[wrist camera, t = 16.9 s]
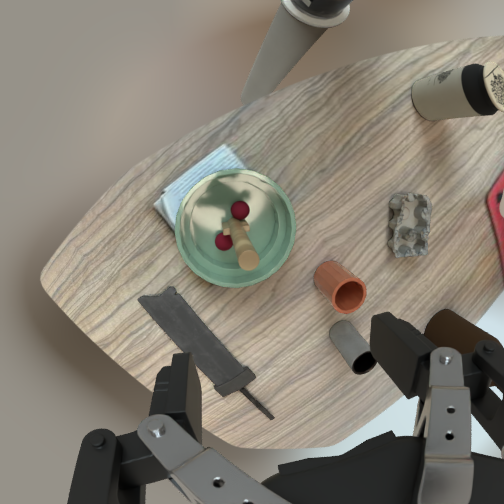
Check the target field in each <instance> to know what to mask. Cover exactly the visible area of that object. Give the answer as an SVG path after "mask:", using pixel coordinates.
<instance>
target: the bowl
mask: <svg viewBox="0 0 504 504" xmlns="http://www.w3.org/2000/svg"><path fill="white" fill-rule="evenodd" d="M236 201H244V202H246V203H247V204H248V206H249V208H250V212H249V215H248V216H247V217H246V218H245V220H246V221H247V223H248V224H249V226H250V231H248V232H246V234H247V236H248V237H249V239H250V241H251V243H252V245H253V247H254V248H255V250H256V252H257V254H258V256H259V259H260V261H259V264H258V266H257V267H256V268H255V269H253V270H251V271H247V270H244V269H242V268H241V267H240V266H239V263H238V260H237V256H236V253H235V249H234V246H233V245H232V247H231V248H230V249H229V250H227V251H221V250H219V249H218V248H217V247H216V245H215V238H216V236H217V235H218V234H219V233H222V232H223V230H222V222H228V220H229V219H230V218H232V217H233V216H232V214H231V206H232V205H233V203H235V202H236ZM295 234H296V221H295V213H294V210H293V208H292V205H291V203H290V200H289V198H288V197H287V196H286V194H285V193H284V191H283V190H282V189H281V187H280V186H279V185H277V184H276V183H275V182H273V181H272V180H271V179H270V178H268V177H267V176H265V175H262V174H260V173H257V172H255V171H252V170H245V169H237V168H235V169H228V170H221V171H217V172H215V173H212V174H210V175H208V176H206V177H204V178H203V179H202V180H200V181H199V182H198V183H197V184H195V185H194V186H193V187H192V188H191V189H190V190H189V192H188V193H187V195H186V196H185V197H184V199H183V200H182V202H181V205H180V207H179V210H178V213H177V215H176V224H175V236H176V241H177V246H178V249H179V251H180V253H181V255H182V257H183V259H184V261H185V263H186V264H187V265H188V266H189V267H190V268H191V270H192V271H193V272H194V273H195V274H197V275H198V276H200V277H201V278H203V279H204V280H206V281H207V282H210V283H213V284H216V285H219V286H221V287H232V288H240V287H246V286H252V285H254V284H256V283H259V282H261V281H263V280H266V279H267V278H268V277H270V276H271V275H272V274H274V273H275V272H276V271H278V270H279V268H280V267H281V266H282V265H283V263H284V262H285V261H286V260H287V258H288V256H289V254H290V252H291V249H292V247H293V245H294V240H295Z"/></svg>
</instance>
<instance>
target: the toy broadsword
mask: <svg viewBox="0 0 504 504" xmlns="http://www.w3.org/2000/svg"><path fill="white" fill-rule="evenodd" d="M175 292H176V289H175V288H174V287H169V288H168V289H167V290H166V291H165V292H164V293H162V294H161V295H160V296H142V297H140V298H139V299H138V301H139V302H140V304H141V305H142V306H143V307H144V308H145V310H146V311H147V312H148V313H149V314H150V316H151V317H152V318H153V319H154V320H155V321H156V322H157V324H158V325H159V326H160V327H161V328H162V329H163V330H164V332H165V333H166V334H167V335H168V336H169V337H170V338H171V339H172V340H173V341H174V343H175V344H176V345H177V346H178V347H179V348H180V349H181V350H182V351H183V352H184V353H185V352H191V353H192V355H193V359H194V363H195V365H196V366H197V367H198V368H199V369H200V370H201V371H202V372H203V373H204V374H205V375H206V376H207V377H208V378H209V379H210V380H211V381H212V382H213V383H214V384H215V386H214V389H215V390H216V391H217V392H218V393H219V394H220V395H221V396H222V397H224V396H226V395H229V394H231V393H233V392H235V391H238V390H240V391H241V392H242V393H243V394H244V395H245V396H246V397H247V398H248V399H249V400H250V401H251V402H252V403H253V404H254V405H255V406H256V407H257V408H258V409H259V410H261V411H262V412H263V413H264V414H265V415H266V416H267V417H268V418H269V419H270V420H273V419H274V418H275V417H274V416H273V415H272V414H270V413H269V412H268V411H267V410H266V409H265V408H264V407H263V406H262V405H261V404H260V403H259V402H258V401H257V400H256V399H255V398H254V397H253V396H252V395H250V394H249V392H248V391H247V390H246V389H245V388H244V386H245V385H247V384H248V383H250V382H251V381H253V380H254V379H255V378H256V376H255V374H254V373H253V372H252V371H251V370H250V369H249V368H248V367H245V368H243V367H242V366H241V365H240V364H239V363H238V362H237V361H236V359H235V358H234V357H233V356H232V355H231V354H230V353H229V352H228V351H227V350H226V348H225V347H224V346H223V345H222V344H221V343H220V342H219V341H218V339H217V338H216V337H215V336H214V335H213V334H212V333H211V331H210V330H209V329H208V328H207V327H206V326H205V324H204V323H203V322H202V321H201V320H200V319H199V317H198V316H197V315H196V314H195V313H194V311H193V310H192V309H191V308H190V307H189V305H188V304H187V303H186V302H185V301H184V299H183V298H182V297H181V296H180V294H175Z"/></svg>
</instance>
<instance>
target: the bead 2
mask: <svg viewBox="0 0 504 504" xmlns="http://www.w3.org/2000/svg"><path fill="white" fill-rule="evenodd" d="M249 212H250V208H249V206H248V204H247V203H246V202H244V201H236V202H235V203H233V205H232V206H231V214H232V216H233V217H234V218H236V219H238V220H242V219H245V218H246V217H247V216H248V215H249Z"/></svg>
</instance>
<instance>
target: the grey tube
mask: <svg viewBox="0 0 504 504" xmlns="http://www.w3.org/2000/svg"><path fill="white" fill-rule="evenodd" d="M329 335H330V338H331V340H332V342H333V343H334V345H335V346H336V347H337V349H338V350H339V352H340V353H341V355H342V356H343V358H344V359H345V361H346V362H347V364H348V365H349V367H350V368H351V369H352V371H353V372H354V373H355V374H358V375H361V374H365V373H367V372H369V371H370V370H372V369H373V368H374V366H375V365H376V363H377V361H376V360H375V358H374V357H373V356H372V354H371V351H370V345H369V344H368V343H367V342H366V340H365V339H364V338H363V337H362V336H361V335H360V333H359V332H358V331H357V330H356V329H355V328H354V327H353V325H352V324H351V323H350V322H348V321H339V322H337V323H336V324H334V325H333V327H332V328H331V330H330V333H329Z"/></svg>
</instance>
